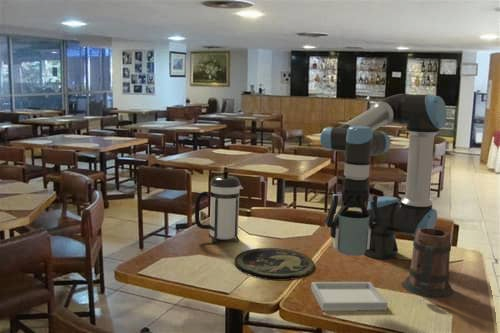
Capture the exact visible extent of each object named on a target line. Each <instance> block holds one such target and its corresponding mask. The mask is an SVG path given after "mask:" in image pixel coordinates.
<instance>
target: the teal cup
mask: <svg viewBox="0 0 500 333" xmlns="http://www.w3.org/2000/svg"><path fill="white" fill-rule="evenodd" d="M337 213H338V211H337V212H335V214H336V215H337V217H339V224H338V226H337V227H338V228H339V234H338V248H337V249H336V250H337V252H338V253H340V254H342V255H347V256H354V257H355V256H356V257H357V256H364V253H365V250H366V241H367V234H368V226H369V220H370V215H369V216H368V217H367V218H365V217H364V215H363V213H362V210H356V209H355V210H354V209H353V210H352V209H350V210H349V209H348V210H347V211H346V212H345V214H344V216H340V215H338V214H337ZM336 215H335V216H336Z"/></svg>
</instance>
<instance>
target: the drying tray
mask: <svg viewBox="0 0 500 333" xmlns="http://www.w3.org/2000/svg"><path fill="white" fill-rule="evenodd" d="M310 286H311V287H310V290H311V292H312V294H313V297H315V299H316V301H317V303H318V305H319V306H320V309H321V311H322V312H342V311H343V312H345V311H346V312H350V311H351V312H360V311H361V310H362V311H364V310H365V312H366V311H367V310H368V311H367V312H372V311H373V312H374V311H375V312H377V311H379V312H380V311H381V310H387V311H388V304H389V303H388V301H386V299H385V298H384V296H383V295H382V294H381V293H380V292H379V291H378V290H377V288H376V287H375V285H373V283H372V282H371V281H311V285H310ZM358 310H360V311H358ZM370 310H372V311H370ZM362 311H361V312H362Z"/></svg>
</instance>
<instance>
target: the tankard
mask: <svg viewBox="0 0 500 333" xmlns="http://www.w3.org/2000/svg"><path fill="white" fill-rule="evenodd" d="M450 238H451V237H450V232H448V231H444V230H442V229H440V228H439V229H438V228H435V227H434V228H419V229H418V230H417V233H416V237H414V239H413V244H412V246H413V247H412V255H411V262H410V266H409V271H408V272H409V275H408V276H407V277H406V278H405V280H404V281H402V283H401V286H402V288H403V289H404V290H405V291H407V292H409V293H411V294H413V295H416V296H418V297H419V296H420V297H422V298H428V299H447V298H450V297H451V298H452V296H454V294H455V292H454V289H453V288H452V286H451V284H450V283H449V280H450V255H451V251H452V244H451V239H450Z"/></svg>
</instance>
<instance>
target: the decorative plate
mask: <svg viewBox="0 0 500 333" xmlns="http://www.w3.org/2000/svg"><path fill="white" fill-rule="evenodd" d="M234 266H235V267H236V269H237V268H238V269H237V270H239V271H240V270H241V271H240V272H241V273H244V274H245V273H247V274H246V275H248V274H250V275H249V276H251V275H252V276H251V277H254V276H256V277H255V278H258V277H260V279H264V278H267V279H266V280H273V279H288V280H292V279H291V278H296V279H299V278H304V277H307V276H309V275H310V274H312V272H314V271H315V262H314V261H313V259H312V258H311V257H309V256H308V255H307V254H305V253H301V252H299V251H296V250H292V249H291V250H290V249H286V248H279V247H258V248H252V249H248V250H247V249H245V250H244V251H242V252H239V253H238V254H237V255H236V256H235V258H234Z"/></svg>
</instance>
